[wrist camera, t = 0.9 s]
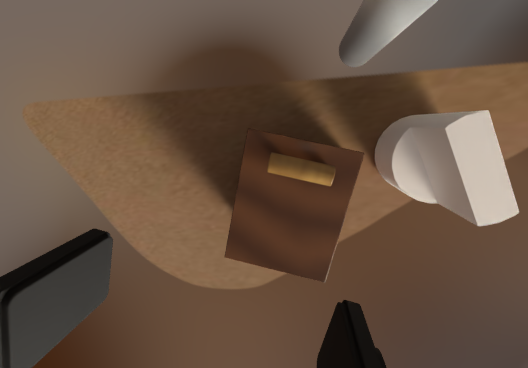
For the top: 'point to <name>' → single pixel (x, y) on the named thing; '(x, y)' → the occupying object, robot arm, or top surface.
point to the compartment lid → (291, 203)
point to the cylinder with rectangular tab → (449, 164)
